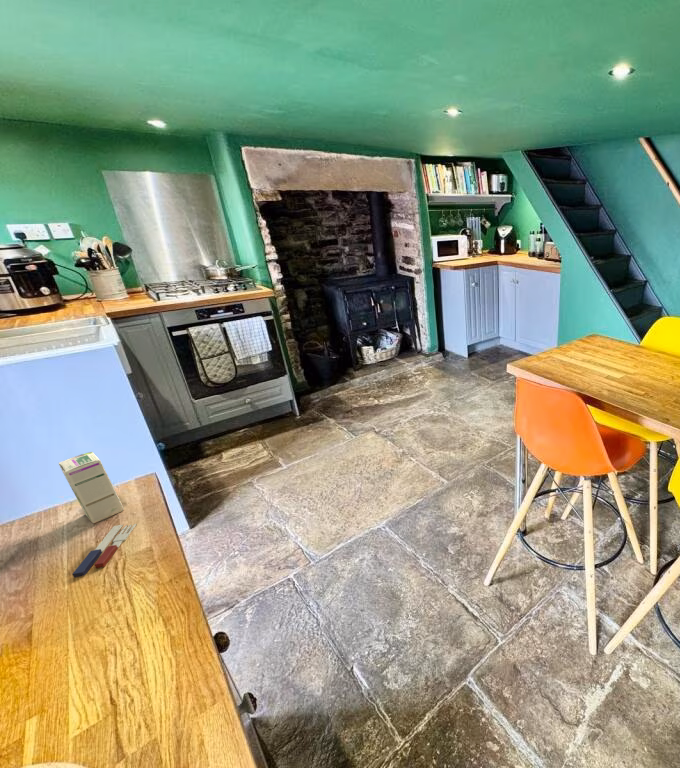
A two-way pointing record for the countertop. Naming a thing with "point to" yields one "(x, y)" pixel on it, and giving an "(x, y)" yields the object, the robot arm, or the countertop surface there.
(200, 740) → the countertop surface
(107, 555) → the fork
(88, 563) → the knife
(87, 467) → the syrup box
